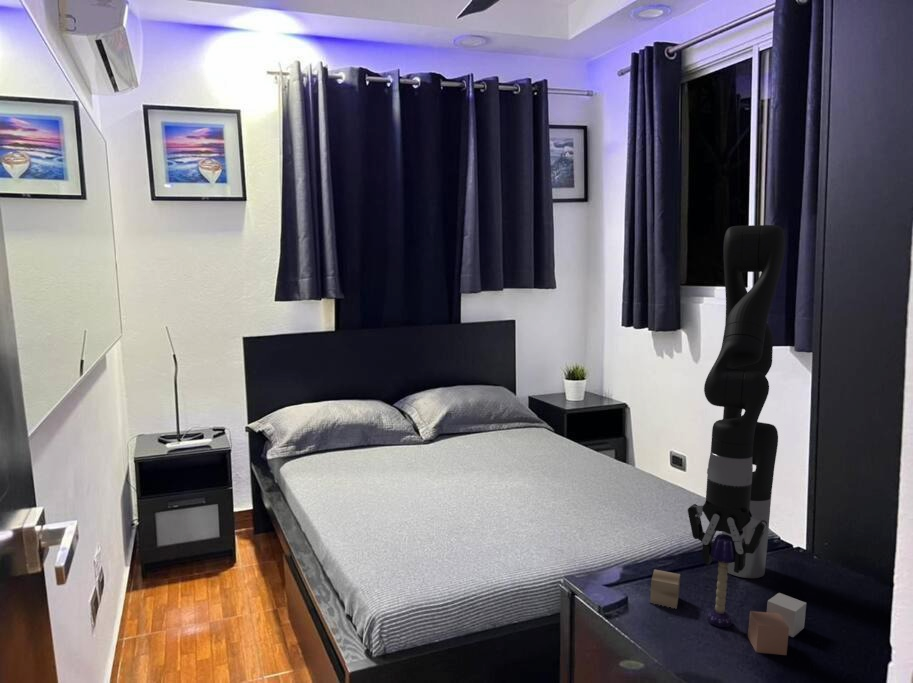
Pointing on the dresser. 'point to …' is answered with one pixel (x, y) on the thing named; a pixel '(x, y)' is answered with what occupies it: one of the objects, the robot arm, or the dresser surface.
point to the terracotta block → (768, 633)
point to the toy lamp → (722, 578)
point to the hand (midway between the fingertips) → (722, 566)
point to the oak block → (665, 588)
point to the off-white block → (788, 611)
